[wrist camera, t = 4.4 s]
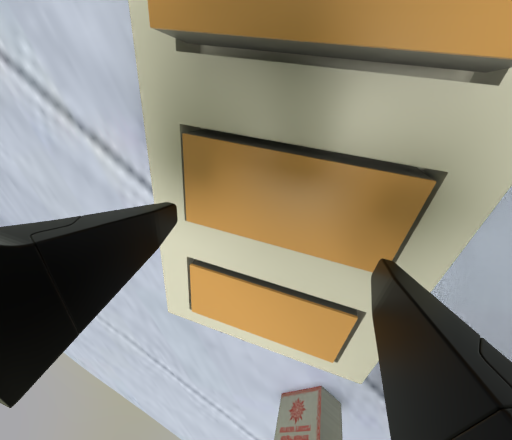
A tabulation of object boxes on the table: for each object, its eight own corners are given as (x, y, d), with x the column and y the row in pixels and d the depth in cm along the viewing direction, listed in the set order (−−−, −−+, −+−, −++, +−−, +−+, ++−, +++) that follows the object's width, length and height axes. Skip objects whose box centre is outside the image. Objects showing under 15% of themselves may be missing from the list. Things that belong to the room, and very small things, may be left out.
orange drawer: (416, 167, 12) (436, 181, 10) (375, 249, 15) (383, 275, 13) (205, 129, 15) (182, 133, 12) (205, 205, 17) (186, 220, 15)
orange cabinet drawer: (354, 290, 17) (357, 318, 15) (332, 333, 20) (332, 363, 18) (205, 246, 20) (189, 264, 17) (205, 290, 23) (191, 311, 20)
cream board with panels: (915, -242, 6) (1506, -591, 3) (400, 361, 21) (411, 403, 18) (160, -160, 10) (94, -264, 7) (186, 288, 25) (168, 312, 22)
